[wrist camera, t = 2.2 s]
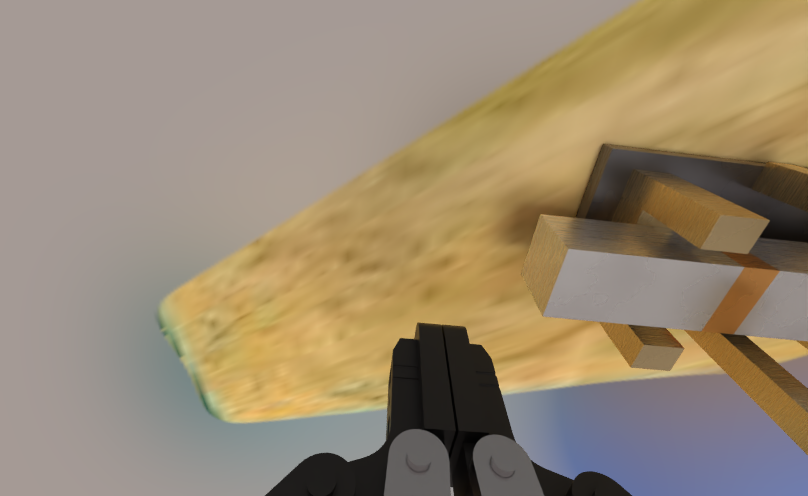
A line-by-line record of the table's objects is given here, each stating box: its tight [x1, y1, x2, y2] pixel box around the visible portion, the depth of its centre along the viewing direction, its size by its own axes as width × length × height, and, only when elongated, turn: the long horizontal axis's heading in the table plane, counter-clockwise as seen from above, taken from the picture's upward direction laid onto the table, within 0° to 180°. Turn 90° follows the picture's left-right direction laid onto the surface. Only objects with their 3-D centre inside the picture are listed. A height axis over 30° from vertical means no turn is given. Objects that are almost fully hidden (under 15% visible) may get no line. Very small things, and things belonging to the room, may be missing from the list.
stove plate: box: [576, 144, 808, 243], centre depth 22 cm, size 16×10×1 cm, turn 84°
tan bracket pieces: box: [599, 169, 808, 371], centre depth 19 cm, size 14×8×6 cm, turn 84°
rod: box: [521, 214, 808, 341], centre depth 18 cm, size 20×4×4 cm, turn 84°
